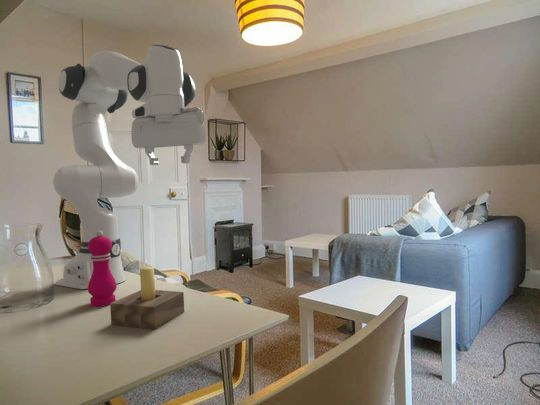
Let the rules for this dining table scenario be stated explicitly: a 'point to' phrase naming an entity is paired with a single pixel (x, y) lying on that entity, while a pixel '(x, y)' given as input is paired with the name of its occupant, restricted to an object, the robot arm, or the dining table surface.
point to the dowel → (147, 283)
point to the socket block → (147, 309)
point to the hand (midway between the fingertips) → (169, 164)
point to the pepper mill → (101, 272)
